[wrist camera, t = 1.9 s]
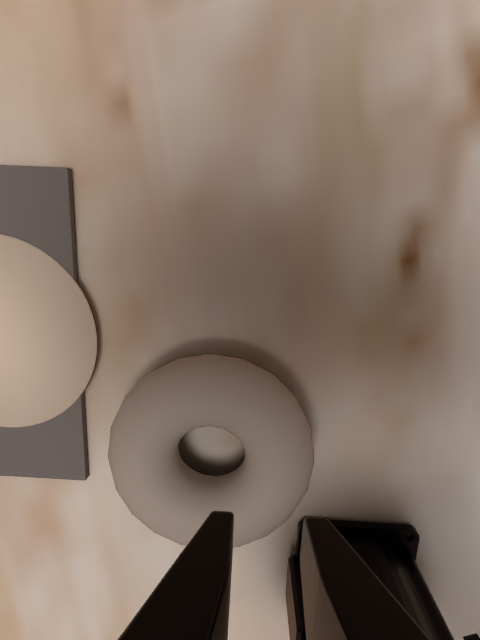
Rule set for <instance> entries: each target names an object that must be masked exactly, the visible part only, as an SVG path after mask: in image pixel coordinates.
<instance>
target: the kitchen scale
mask: <svg viewBox="0 0 480 640" xmlns="http://www.w3.org/2000/svg"><path fill="white" fill-rule="evenodd" d="M96 356H97V333H96V326H95V322H94V318H93V314H92V312H91V309H90V306H89V304H88V301H87V300H86V298H85V296H84V294H83V292H82V290H81V289H80V287H79V286H78V274H77V257H76V239H75V221H74V204H73V186H72V169H69V168H59V167H32V166H6V165H0V475H1V476H19V477H36V478H53V479H70V480H86V479H87V478H88V476H89V469H88V452H87V434H86V416H85V398H84V390H85V388H86V387H87V384H88V382H89V380H90V378H91V376H92V373H93V370H94V367H95V362H96Z"/></svg>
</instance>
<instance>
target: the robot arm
mask: <svg viewBox="0 0 480 640" xmlns="http://www.w3.org/2000/svg"><path fill="white" fill-rule="evenodd" d="M233 530H234V514H233V513H232V512H229V511H212V512H211V513H210V514H209V516H208V517H207V518H206V520H205V521H204V523H203V524H202V525H201V527H200V528H199V529H198V531H197V532H196V533H195V535H194V536H193V538H192V539H191V540H190V542H189V543H188V544H187V546H186V547H185V548H184V550H183V551H182V553H181V554H180V555H179V557H178V558H177V559H176V561H175V562H174V564H173V565H172V566H171V568H170V569H169V570H168V572H167V573H166V574H165V576H164V577H163V579H162V580H161V581H160V583H159V584H158V585H157V587H156V588H155V590H154V591H153V592H152V594H151V595H150V596H149V598H148V599H147V600H146V602H145V603H144V605H143V606H142V607H141V609H140V610H139V611H138V613H137V614H136V616H135V617H134V618H133V620H132V621H131V622H130V624H129V625H128V626H127V628H126V629H125V631H124V632H123V633H122V635H121V636H120V637H119V639H118V640H227V638H228V621H229V604H230V587H231V570H232V552H233ZM408 534H411V535H409V536H407V535H408ZM418 543H419V535H418V533H417V531H416V529H415V528H414V527H413V526H411V525H404V524H388V523H371V522H354V521H338V520H328V519H327V518H324V517H311V516H307V517H305V519H303V520H301V521H300V522H299V525H298V532H297V544H296V555H291V556H290V558H289V559H288V571H287V583H286V602H287V613H288V624H289V635H290V640H454V638H453V636H452V634H451V632H450V630H449V628H448V626H447V624H446V622H445V620H444V618H443V616H442V614H441V612H440V610H439V608H438V606H437V604H436V602H435V600H434V598H433V596H432V594H431V592H430V590H429V588H428V586H427V584H426V582H425V580H424V578H423V576H422V574H421V572H420V570H419V568H418V566H417V564H416V562H415V560H416V554H417V548H418ZM463 638H464V640H480V638H479V636H478V635H477V633H475V634H472V635H468V636H464V637H463Z"/></svg>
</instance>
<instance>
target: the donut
mask: <svg viewBox="0 0 480 640" xmlns="http://www.w3.org/2000/svg"><path fill="white" fill-rule="evenodd" d="M205 426H211V427H217V428H222V429H224V430H226V431H229V432H231V433H233V434H234V435H235V436H236V437H237V438H238V439H239V440H240V441H241V443H242V445H243V447H244V449H245V458H244V461H243V462H242V464H241V466H240V467H239V468H237V469H236V470H235V471H233V472H231V473H228V474H226V475H219V476H210V475H204V474H201V473H199V472H197V471H195V470H192V469H191V468H190V467H189V466H188V465H186V464H185V463H184V462H183V460H182V459H181V457H180V454H179V449H178V445H179V441H180V440H181V438H182V437H183V436H184V435H185V434H186V433H187V432H188V431H191V430H193V429H195V428H197V427H205ZM108 459H109V463H110V467H111V471H112V475H113V479H114V483H115V487H116V490H117V492H118V493H119V495H120V496H121V498H122V499H123V501H124V502H125V504H126V506H127V507H128V509H129V510H130V512H131V513H132V514H133V515H134V516H135V517H136V518H137V519H139V520H140V521H141V522H142V523H143V524H145V525H146V526H147V527H148V528H149V529H150V530H152V531H153V532H154V533H156V534H158V535H161V536H163V537H165V538H167V539H169V540H172V541H174V542H176V543H178V544H180V545H185V546H187V544H188V543H189V542H190V540H191V539H192V538H193V536H194V535H195V533H196V532H197V531H198V529H199V528H200V527H201V525H202V524H203V523H204V521H205V520H206V518H207V517H208V516H209V514H210V513H211V512H212V511H229V512H232V513H233V514H234V530H233V547H240V546H242V545H245V544H247V543H250V542H253V541H255V540H258V539H260V538H263V537H265V536H267V535H268V534H270V533H271V532H272V531H274V530H275V529H276V528H277V527H279V526H280V525H281V524H282V523H284V522H285V521H286V520H287V519H289V517H290V516H291V514H292V513H293V511H294V510H295V508H296V507H297V505H298V503H299V502H300V500H301V499H302V497H303V496H304V494H305V493H306V491H307V489H308V485H309V481H310V477H311V473H312V468H313V464H314V451H313V443H312V435H311V426H310V424H309V422H308V420H307V418H306V417H305V415H304V413H303V411H302V409H301V407H300V405H299V403H298V401H297V399H296V397H295V396H294V395H293V394H292V393H291V392H290V391H289V390H288V389H287V388H286V387H285V386H284V385H283V384H282V383H281V382H280V381H279V380H278V379H277V378H276V377H275V376H274V375H273V374H272V373H270V372H268V371H266V370H264V369H262V368H260V367H258V366H256V365H254V364H252V363H250V362H248V361H246V360H244V359H239V358H233V357H227V356H221V355H215V354H206V355H199V356H192V357H184V358H179V359H177V360H175V361H173V362H170V363H168V364H166V365H164V366H162V367H160V368H158V369H156V370H154V371H152V372H150V373H149V374H147V375H146V376H145V377H144V378H143V379H142V380H141V381H140V382H139V383H138V384H137V385H136V386H135V387H134V388H133V389H132V390H131V391H130V392H129V393H128V394H127V395H126V396H125V398H124V400H123V402H122V405H121V407H120V409H119V411H118V413H117V415H116V417H115V419H114V421H113V424H112V426H111V431H110V441H109V452H108Z"/></svg>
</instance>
